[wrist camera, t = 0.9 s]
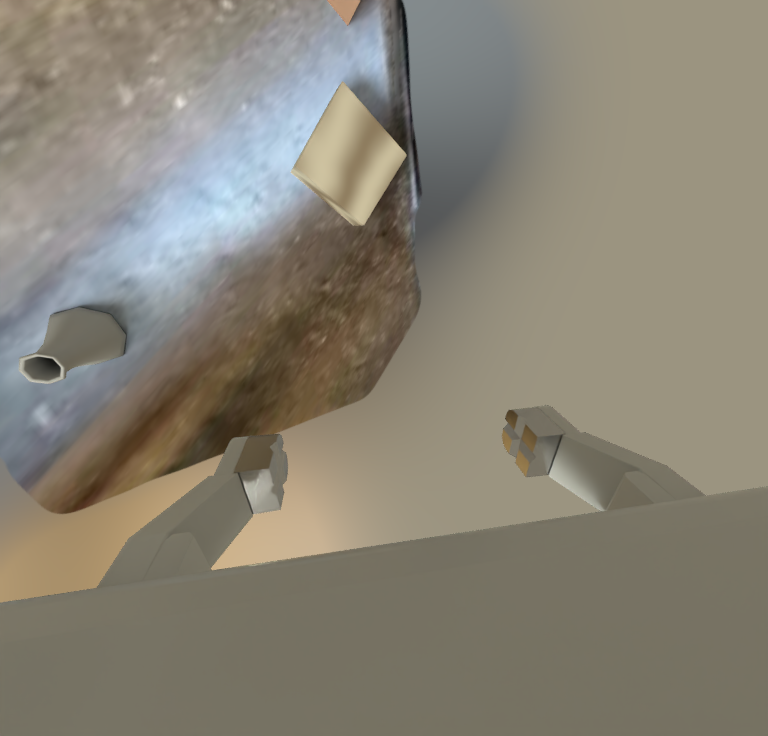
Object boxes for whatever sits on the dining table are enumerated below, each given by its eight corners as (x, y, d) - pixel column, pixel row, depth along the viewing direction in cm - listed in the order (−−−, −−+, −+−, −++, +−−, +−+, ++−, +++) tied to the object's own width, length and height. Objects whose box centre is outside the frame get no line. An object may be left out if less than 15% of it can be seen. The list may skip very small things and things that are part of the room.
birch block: (290, 172, 37) (295, 165, 33) (331, 97, 36) (342, 81, 31) (352, 225, 42) (363, 225, 38) (391, 162, 41) (406, 155, 37)
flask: (118, 306, 36) (79, 330, 27) (134, 360, 39) (103, 397, 30) (37, 306, 33) (-34, 334, 25) (61, 365, 36) (5, 407, 28)
